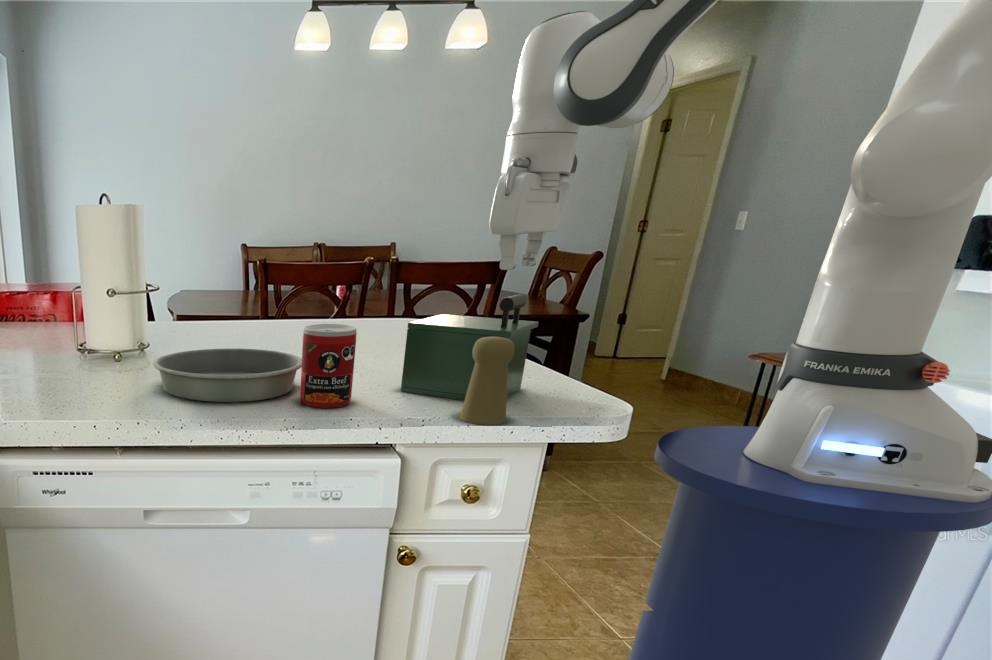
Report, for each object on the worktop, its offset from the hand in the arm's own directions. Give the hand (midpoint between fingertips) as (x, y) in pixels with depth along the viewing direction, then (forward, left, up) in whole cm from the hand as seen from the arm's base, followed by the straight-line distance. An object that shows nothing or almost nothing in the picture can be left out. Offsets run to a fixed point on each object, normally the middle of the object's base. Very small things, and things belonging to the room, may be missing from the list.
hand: (518, 267), depth 103 cm
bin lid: (+5, 0, -9) cm, 10 cm away
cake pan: (+37, +21, -19) cm, 46 cm away
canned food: (+19, +20, -19) cm, 33 cm away
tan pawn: (-3, +15, -19) cm, 24 cm away
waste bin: (+6, 0, -19) cm, 20 cm away
